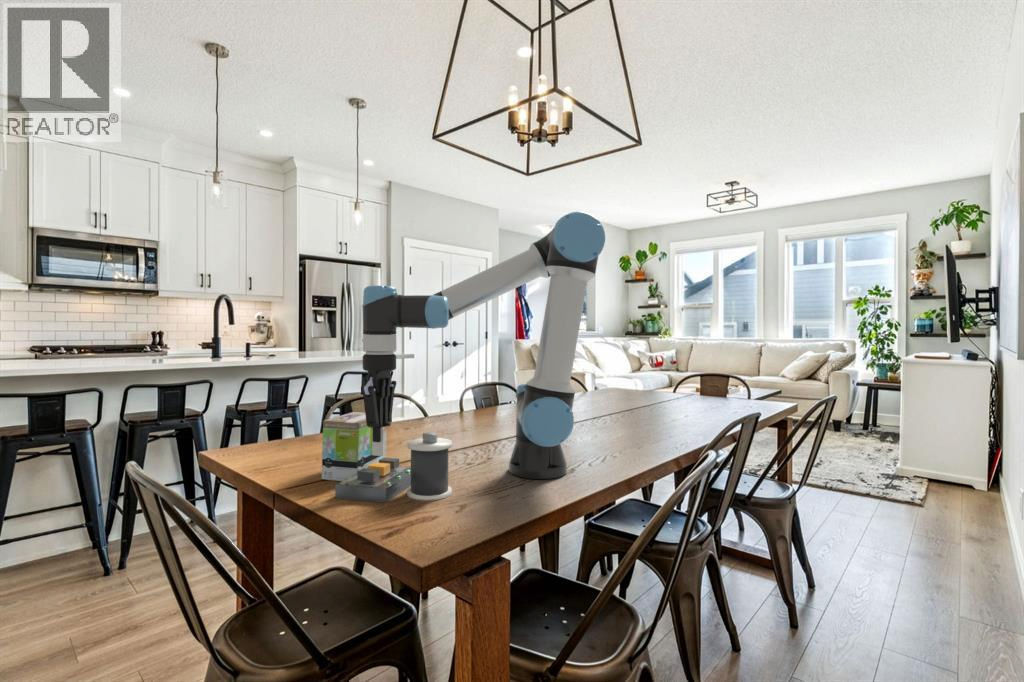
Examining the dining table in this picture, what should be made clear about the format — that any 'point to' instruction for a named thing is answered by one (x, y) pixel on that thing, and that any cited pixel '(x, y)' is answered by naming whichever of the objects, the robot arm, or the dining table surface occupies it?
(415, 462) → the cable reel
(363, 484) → the breaker strip
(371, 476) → the paddle
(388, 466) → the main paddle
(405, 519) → the dining table surface
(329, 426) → the tea box
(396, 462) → the paddle
